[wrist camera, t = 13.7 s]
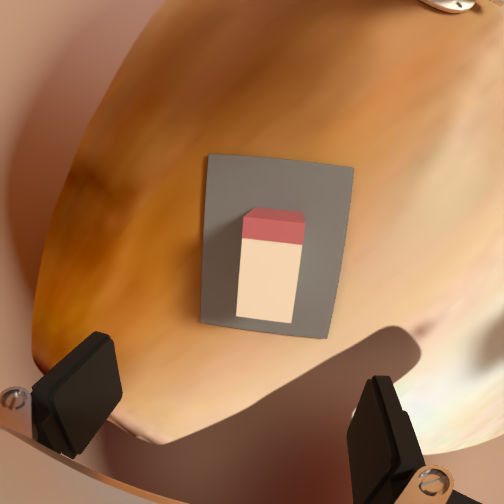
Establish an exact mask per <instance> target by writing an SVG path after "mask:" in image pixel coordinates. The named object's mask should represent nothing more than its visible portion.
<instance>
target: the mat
mask: <svg viewBox="0 0 504 504" xmlns="http://www.w3.org/2000/svg"><path fill="white" fill-rule="evenodd" d="M353 174H354V168H351V167H344V166H337V165H330V164H322V163H314V162H306V161H297V160H288V159H277V158H266V157H254V156H240V155H224V154H209V157H208V170H207V183H206V198H205V214H204V233H203V254H202V280H201V320H200V323H206V324H212V325H218V326H225V327H231V328H238V329H245V330H252V331H260V332H268V333H276V334H284V335H293V336H302V337H312V338H322V339H327V337H328V332H329V328H330V323H331V318H332V313H333V308H334V303H335V298H336V293H337V287H338V282H339V276H340V270H341V264H342V258H343V252H344V245H345V239H346V232H347V225H348V217H349V210H350V202H351V193H352V184H353ZM255 207H260V208H269V209H278V210H287V211H296V212H302V213H303V217H304V220H305V230H304V238H303V245H302V252H301V259H300V267H299V274H298V281H297V288H296V295H295V302H294V308H293V315H292V321H291V323H284V322H276V321H268V320H260V319H253V318H246V317H239V316H236V310H237V297H238V284H239V271H240V258H241V246H242V229H243V217H244V216H245V215H246V214H247V213H249V212H250V211H251V210H252V209H253V208H255Z"/></svg>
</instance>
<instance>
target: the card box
mask: <svg viewBox="0 0 504 504" xmlns="http://www.w3.org/2000/svg"><path fill="white" fill-rule="evenodd" d="M304 230H305V220H304V217H303V213H302V212H296V211H287V210H278V209H269V208H260V207H255V208H253V209H252V210H251V211H250V212H249V213H247V214H246V215H245V216H244V217H243V229H242V246H241V258H240V271H239V284H238V297H237V310H236V316H239V317H246V318H253V319H260V320H268V321H276V322H284V323H291V321H292V315H293V308H294V302H295V295H296V288H297V281H298V274H299V267H300V259H301V252H302V245H303V238H304Z"/></svg>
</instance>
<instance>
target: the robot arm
mask: <svg viewBox="0 0 504 504" xmlns="http://www.w3.org/2000/svg"><path fill="white" fill-rule="evenodd" d="M420 1H422V2H424V3H426V4H428V5H429V6H432V7H434V8H436V9H439V10H442V11H445V12H450V13H463V12H466V11H468V10H469V9H470V8H472V7H473V5H474V4H475V2H476V0H420ZM490 1H492V2H493V3H495V4H497V5H499V6H502V5H503V4H504V0H490ZM32 390H33V391H32V392H31V393H29V391H28V390H26V389H25V388H22V387H10V388H8V389H5V390H4V391H2V392H1V394H0V504H188V503H184V502H180V501H176V500H173V499H169V498H166V497H163V496H159V495H156V494H153V493H150V492H147V491H144V490H141V489H138V488H135V487H133V486H130V485H127V484H125V483H122V482H119V481H117V480H114V479H112V478H109V477H107V476H105V475H102V474H100V473H98V472H95V471H93V470H91V469H89V468H87V467H85V466H82V465H80V464H78V463H76V462H74V461H72V460H70V459H68V458H66V457H64V456H62V455H60V454H61V452H62V454H64V455H66V456H67V457H69V458H71V459H74V458H75V457H76V455H77V454H81V453H82V452H83V451H84V449H85V448H86V447H87V445H88V444H89V442H90V441H91V440H92V438H93V437H94V436H95V434H96V433H97V431H98V430H99V429H100V427H101V426H102V425H103V423H104V422H105V420H106V419H107V418H108V416H109V415H110V414H111V412H112V411H113V410H114V408H115V407H116V405H117V404H118V403H119V401H120V400H121V398H122V393H123V392H122V387H121V382H120V376H119V371H118V366H117V360H116V354H115V348H114V342H113V340H112V339H111V338H110V336H109V335H108V334H104V333H101V332H97V331H95V332H93V333H92V334H91V335H90V336H88V337H87V338H86V339H85V340H84V341H83V342H81V343H80V344H79V345H78V346H77V347H76V348H75V349H73V350H72V351H71V352H70V353H69V354H68V355H67V356H65V357H64V358H63V359H62V360H61V361H60V362H59V363H58V364H56V365H55V366H54V367H53V368H52V369H51V370H50V371H49V372H48V373H46V374H45V375H44V376H43V377H42V378H41V379H40V380H39V381H38V382H37V383H35V384H34V385H33V386H32ZM347 445H348V454H349V463H350V472H351V481H352V493H353V504H482V503H480V502H477V501H475V500H473V499H471V498H469V497H467V496H465V495H463V494H461V493H459V492H457V491H455V490H453V487H454V480H453V477H452V475H451V474H450V473H449V471H448V470H446V469H445V468H443V467H440V466H437V465H428V466H426V465H425V461H424V458H423V455H422V452H421V449H420V446H419V443H418V440H417V438H416V435H415V432H414V429H413V426H412V423H411V421H410V418H409V415H408V413H407V412H406V411H403V410H402V407H401V405H400V402H399V399H398V396H397V394H396V391H395V388H394V386H393V383H392V381H391V378H390V377H389V376H373V377H372V379H368V380H367V382H366V384H365V387H364V390H363V393H362V395H361V398H360V401H359V403H358V406H357V408H356V411H355V413H354V416H353V418H352V421H351V423H350V426H349V428H348V431H347Z"/></svg>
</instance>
